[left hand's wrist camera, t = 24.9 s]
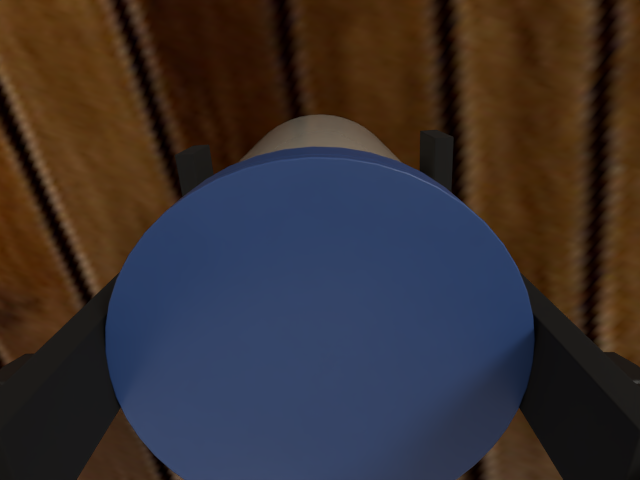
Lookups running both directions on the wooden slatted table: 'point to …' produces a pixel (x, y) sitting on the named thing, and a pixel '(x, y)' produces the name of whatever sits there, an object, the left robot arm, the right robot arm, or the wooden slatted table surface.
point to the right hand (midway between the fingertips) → (313, 141)
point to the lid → (319, 325)
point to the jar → (320, 136)
